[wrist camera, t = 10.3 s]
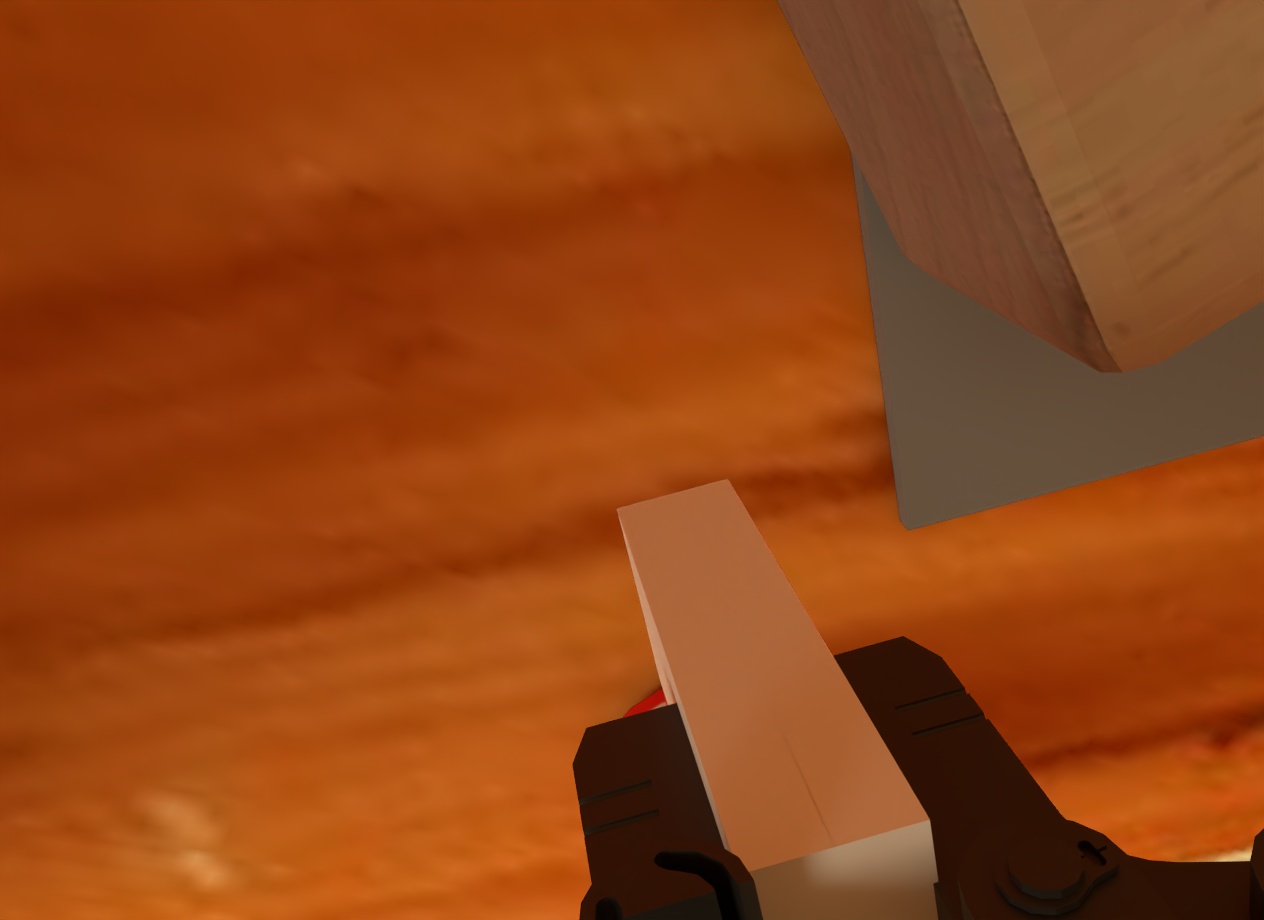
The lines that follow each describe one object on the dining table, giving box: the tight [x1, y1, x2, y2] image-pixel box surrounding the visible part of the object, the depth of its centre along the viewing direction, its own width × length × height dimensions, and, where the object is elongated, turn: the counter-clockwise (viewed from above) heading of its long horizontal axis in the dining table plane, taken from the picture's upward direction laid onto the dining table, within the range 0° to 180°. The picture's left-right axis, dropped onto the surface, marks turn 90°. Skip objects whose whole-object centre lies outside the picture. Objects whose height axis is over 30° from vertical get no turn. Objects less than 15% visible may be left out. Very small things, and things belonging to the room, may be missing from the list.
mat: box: [851, 151, 1264, 531], centre depth 28 cm, size 19×16×1 cm
